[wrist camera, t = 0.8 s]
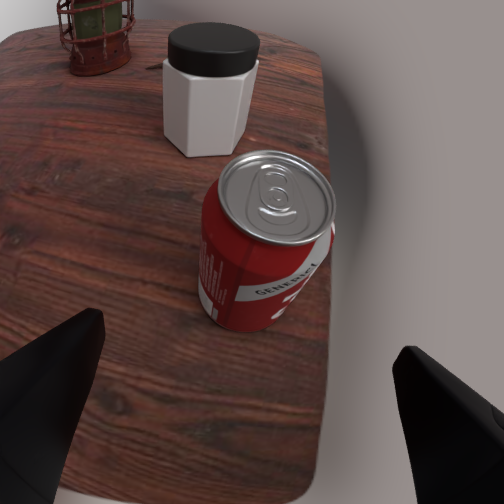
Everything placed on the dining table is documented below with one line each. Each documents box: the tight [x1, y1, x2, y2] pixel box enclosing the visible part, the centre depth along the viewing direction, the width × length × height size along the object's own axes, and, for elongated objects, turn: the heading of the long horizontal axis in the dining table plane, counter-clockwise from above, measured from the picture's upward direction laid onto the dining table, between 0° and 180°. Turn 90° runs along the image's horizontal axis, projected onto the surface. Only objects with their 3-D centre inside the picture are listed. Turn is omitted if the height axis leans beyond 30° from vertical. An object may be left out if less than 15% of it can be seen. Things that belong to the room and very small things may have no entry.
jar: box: [163, 22, 260, 157], centre depth 27 cm, size 9×8×12 cm
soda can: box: [198, 150, 336, 332], centre depth 19 cm, size 7×7×12 cm
